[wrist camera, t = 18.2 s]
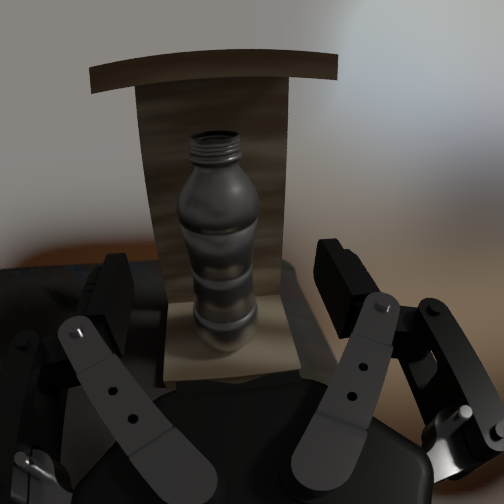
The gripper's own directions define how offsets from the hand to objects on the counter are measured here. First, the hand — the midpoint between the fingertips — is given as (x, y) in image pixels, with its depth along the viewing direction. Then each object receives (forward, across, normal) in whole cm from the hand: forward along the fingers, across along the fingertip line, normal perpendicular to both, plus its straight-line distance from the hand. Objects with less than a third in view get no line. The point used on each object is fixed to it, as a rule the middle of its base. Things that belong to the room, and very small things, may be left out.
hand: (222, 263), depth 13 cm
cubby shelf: (+12, 0, +19) cm, 22 cm away
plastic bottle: (+11, 0, +18) cm, 21 cm away
